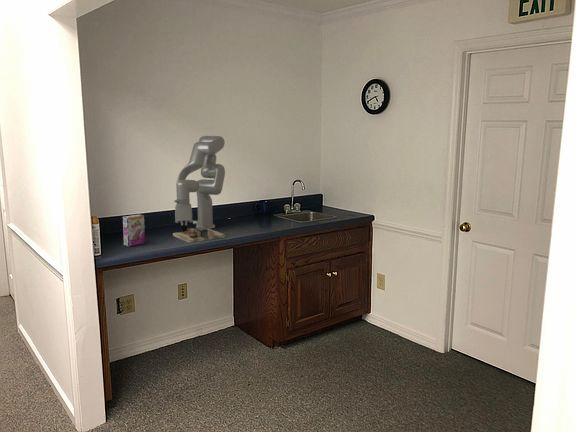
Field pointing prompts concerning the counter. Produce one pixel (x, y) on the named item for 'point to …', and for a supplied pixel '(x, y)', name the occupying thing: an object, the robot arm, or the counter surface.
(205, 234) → the keeper
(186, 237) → the board
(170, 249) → the counter surface
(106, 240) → the counter surface
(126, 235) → the candy bar box
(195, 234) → the lever
